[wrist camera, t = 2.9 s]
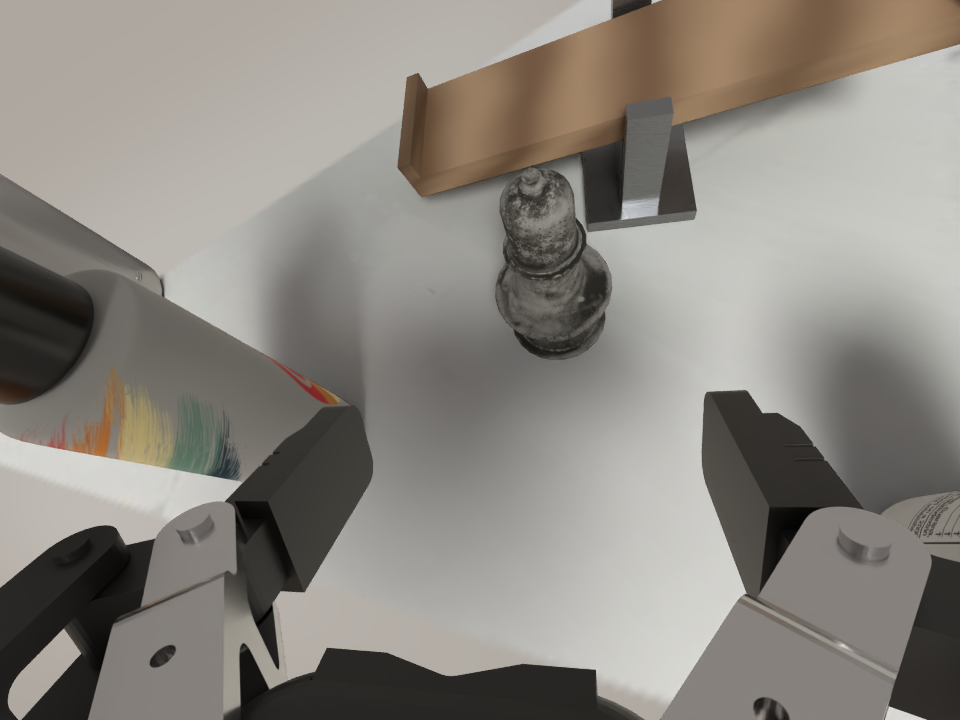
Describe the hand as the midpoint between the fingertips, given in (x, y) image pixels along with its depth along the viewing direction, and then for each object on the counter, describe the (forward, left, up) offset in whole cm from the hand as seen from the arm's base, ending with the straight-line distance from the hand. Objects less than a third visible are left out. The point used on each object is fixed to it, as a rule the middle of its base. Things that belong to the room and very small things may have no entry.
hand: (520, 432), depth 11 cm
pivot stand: (+5, +21, -14) cm, 26 cm away
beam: (+5, +21, -9) cm, 23 cm away
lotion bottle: (-14, +3, -14) cm, 20 cm away
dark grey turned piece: (0, +10, -14) cm, 18 cm away
